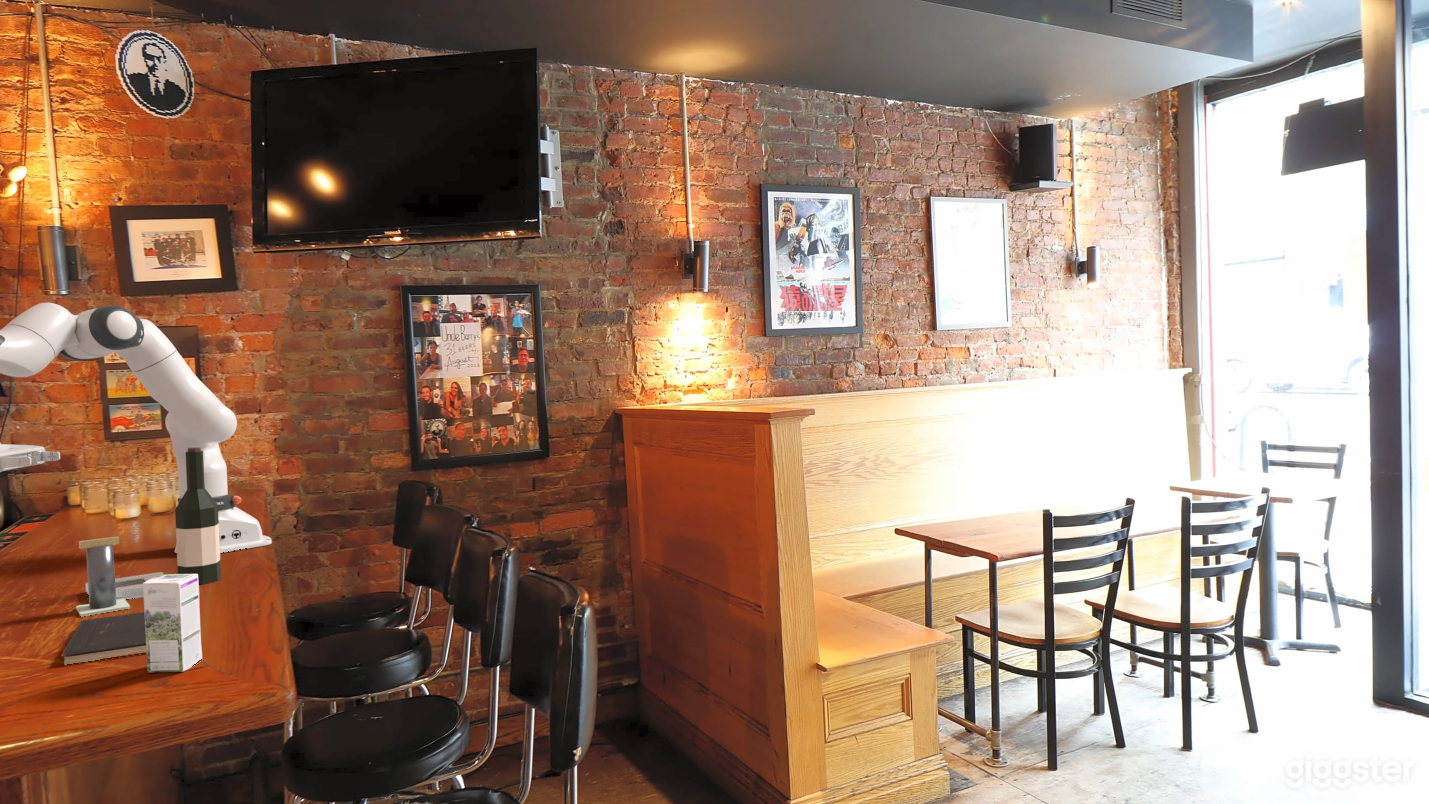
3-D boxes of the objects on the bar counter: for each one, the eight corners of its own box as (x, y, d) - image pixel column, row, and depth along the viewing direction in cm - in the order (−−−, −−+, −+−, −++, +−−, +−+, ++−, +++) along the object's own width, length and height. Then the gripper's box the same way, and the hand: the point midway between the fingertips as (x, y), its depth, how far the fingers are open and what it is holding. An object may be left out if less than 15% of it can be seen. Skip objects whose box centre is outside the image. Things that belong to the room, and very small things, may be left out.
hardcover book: (61, 670, 140) (60, 655, 140) (82, 632, 160) (81, 620, 160) (178, 652, 148) (177, 638, 148) (183, 618, 168) (183, 606, 168)
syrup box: (203, 660, 142) (200, 571, 141) (182, 673, 136) (178, 581, 135) (168, 661, 141) (164, 572, 141) (145, 674, 136) (141, 581, 135)
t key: (120, 600, 177) (117, 535, 177) (123, 604, 174) (119, 538, 173) (82, 607, 173) (78, 540, 173) (84, 611, 170) (80, 543, 169)
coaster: (124, 601, 179) (124, 598, 179) (130, 609, 173) (130, 606, 173) (76, 608, 174) (76, 605, 174) (80, 617, 168) (80, 614, 168)
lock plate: (162, 580, 196) (161, 571, 196) (174, 592, 186) (173, 582, 186) (85, 592, 187) (85, 582, 187) (94, 605, 177) (93, 595, 177)
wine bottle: (229, 576, 199) (224, 445, 198) (204, 585, 191) (198, 449, 190) (195, 576, 200) (189, 446, 199) (169, 585, 192) (163, 449, 190)
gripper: (-71, 450, 162) (14, 447, 165) (-4, 441, 182) (71, 438, 185) (-69, 483, 163) (15, 480, 165) (-2, 471, 183) (72, 468, 185)
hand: (45, 458), depth 175 cm, fingers open, 8 cm apart
